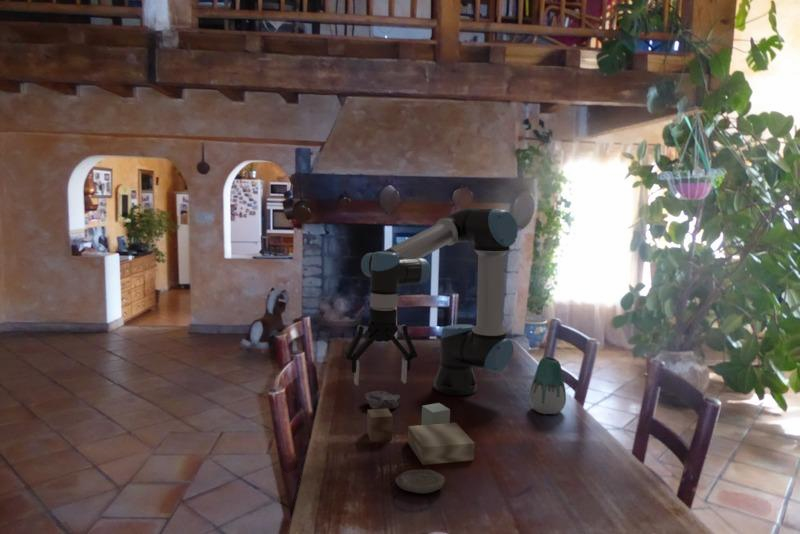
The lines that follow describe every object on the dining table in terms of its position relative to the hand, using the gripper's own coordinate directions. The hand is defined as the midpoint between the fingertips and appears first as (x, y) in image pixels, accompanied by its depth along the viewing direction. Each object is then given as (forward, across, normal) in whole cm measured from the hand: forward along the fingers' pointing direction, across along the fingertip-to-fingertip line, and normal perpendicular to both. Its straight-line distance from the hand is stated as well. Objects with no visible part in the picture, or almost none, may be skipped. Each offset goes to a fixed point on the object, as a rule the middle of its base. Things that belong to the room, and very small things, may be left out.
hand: (380, 382), depth 162 cm
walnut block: (+16, 0, 0) cm, 16 cm away
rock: (+16, -6, -23) cm, 29 cm away
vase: (+15, -58, -10) cm, 61 cm away
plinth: (+16, -14, +12) cm, 25 cm away
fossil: (+16, -3, +30) cm, 34 cm away
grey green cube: (+16, -18, -4) cm, 24 cm away
